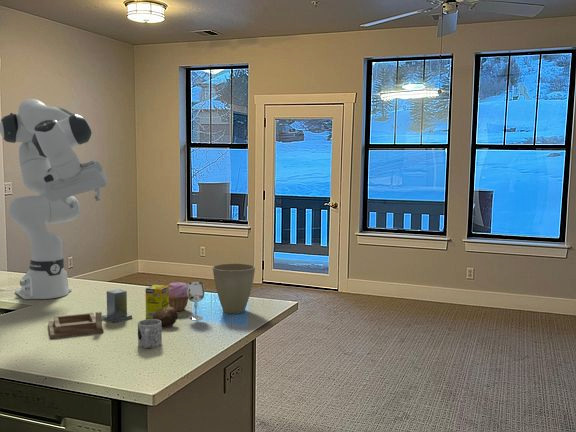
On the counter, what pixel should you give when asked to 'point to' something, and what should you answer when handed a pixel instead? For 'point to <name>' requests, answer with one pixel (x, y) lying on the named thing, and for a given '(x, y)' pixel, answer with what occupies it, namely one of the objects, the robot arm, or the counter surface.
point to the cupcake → (178, 295)
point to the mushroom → (166, 316)
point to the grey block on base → (116, 306)
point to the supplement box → (156, 299)
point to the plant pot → (233, 285)
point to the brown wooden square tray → (76, 325)
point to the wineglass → (195, 296)
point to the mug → (149, 333)
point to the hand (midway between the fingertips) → (86, 203)
